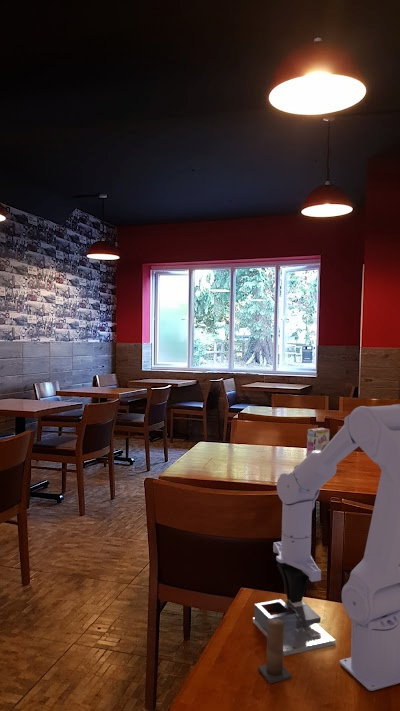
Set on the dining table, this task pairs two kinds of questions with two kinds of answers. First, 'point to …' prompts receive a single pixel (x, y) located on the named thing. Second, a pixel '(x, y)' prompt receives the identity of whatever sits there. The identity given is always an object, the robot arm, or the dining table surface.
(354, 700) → the dining table surface
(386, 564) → the robot arm
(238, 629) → the dining table surface
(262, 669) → the pad
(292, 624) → the panel
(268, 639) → the dowel
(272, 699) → the dining table surface
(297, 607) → the block
